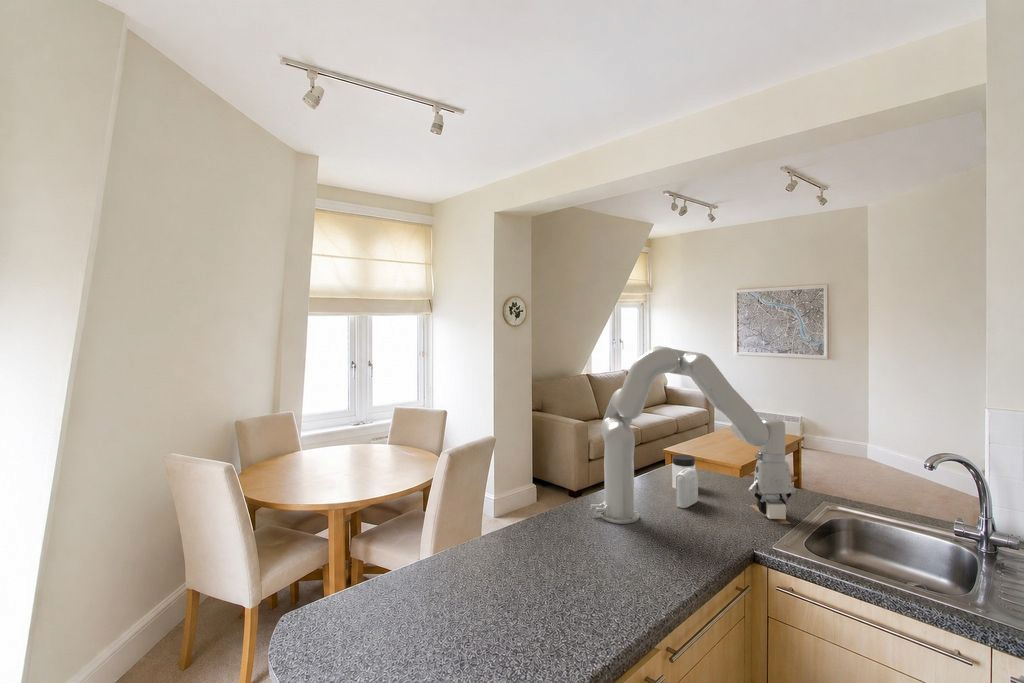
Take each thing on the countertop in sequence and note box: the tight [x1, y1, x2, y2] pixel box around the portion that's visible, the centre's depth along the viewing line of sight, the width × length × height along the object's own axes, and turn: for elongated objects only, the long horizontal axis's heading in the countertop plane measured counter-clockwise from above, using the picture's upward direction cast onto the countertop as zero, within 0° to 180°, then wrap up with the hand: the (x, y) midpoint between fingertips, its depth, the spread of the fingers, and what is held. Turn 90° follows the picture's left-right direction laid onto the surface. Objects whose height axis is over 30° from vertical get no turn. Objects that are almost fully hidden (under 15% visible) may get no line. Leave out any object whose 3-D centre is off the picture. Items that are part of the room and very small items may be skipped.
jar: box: [671, 453, 696, 490], centre depth 187 cm, size 9×8×12 cm
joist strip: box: [749, 504, 792, 525], centre depth 159 cm, size 5×16×1 cm, turn 0°
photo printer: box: [675, 468, 699, 509], centre depth 170 cm, size 10×4×12 cm, turn 134°
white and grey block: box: [765, 494, 787, 520], centre depth 157 cm, size 5×8×5 cm, turn 174°
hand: (772, 512), depth 157 cm, fingers closed on white and grey block, 5 cm apart
